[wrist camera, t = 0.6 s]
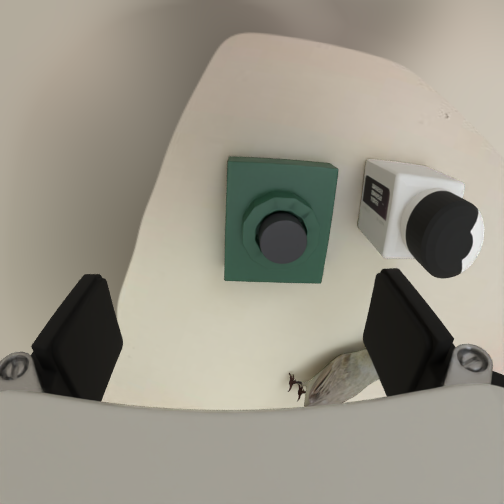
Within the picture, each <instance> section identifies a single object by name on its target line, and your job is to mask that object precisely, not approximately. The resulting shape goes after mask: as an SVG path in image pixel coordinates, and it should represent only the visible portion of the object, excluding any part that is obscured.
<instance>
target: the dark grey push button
mask: <svg viewBox="0 0 504 504" xmlns="http://www.w3.org/2000/svg"><path fill="white" fill-rule="evenodd" d="M259 242H260V248H261V251H262V253H263V255H264V256H265V257H266V258H267V259H268V260H270V261H272V262H274V263H278V264H287V263H291V262H293V261H295V260H297V259H298V258H299V257H300V256H301V255H302V254H303V253H304V251H305V249H306V246H307V236H306V233H305V231H304V229H303V227H302V225H301V223H300V221H299V220H298V219H297V218H296V217H295V216H293V215H291V214H288V213H276V214H273V215H270V216H269V217H267V218H266V219H265V220H264V221H263V222H262V224H261V226H260V229H259Z"/></svg>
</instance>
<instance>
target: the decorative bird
mask: <svg viewBox="0 0 504 504" xmlns="http://www.w3.org/2000/svg"><path fill="white" fill-rule="evenodd" d="M289 375H290V373H289ZM378 379H379V377H378V374H377V372H376V370H375V367H374V365H373V363H372V360H371V358H370V356H369V354H368V351H367V349H365V350H361V351H358V352H351V353H345V354H342V355H339V356H338V357H337V358H335V359H334V360H333V361H332V362H331V363H330V364H328V365H327V366H326V367H325V368H324V369H323V370H322V371H321V372H320V373H318V374H317V375H315V376H314V377H313V379H312V380H310V381H307V382H303V383H302V382H300V381H296V379H295V380H294V375H293V378H292V376H291V375H290V381H289V385H290V389H289V391H290V390H291V388H292V385H293V384H295V383H299V384H301V385H303V386H306V391H304V390H302V389H303V386H302V387H300V385H299V384H298V385H299V390H298V395H299V398H298V400H299V399H300V396H301V395H302V393H306V395H305V402H304V407H310V406H321V405H330V404H339V403H344V402H345V401H347V400H349V399H350V398H352V397H354V396H356V395H357V394H358V393H360V392H361V391H362V390H363V389H364V388H365V387H367V386H368V385H369V384H371V383H373V382H374V381H376V380H378ZM293 380H294V381H293ZM289 391H288V392H289ZM298 400H297V401H298Z"/></svg>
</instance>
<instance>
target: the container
mask: <svg viewBox="0 0 504 504" xmlns="http://www.w3.org/2000/svg"><path fill="white" fill-rule="evenodd" d="M464 190H465V184H464V183H463V182H462V181H459V180H457V179H455V178H453V177H451V176H448V175H446V174H444V173H442V172H439V171H437V170H435V169H432V168H430V167H428V166H424V165H417V164H410V163H403V162H395V161H387V160H379V159H367V160H366V164H365V174H364V182H363V191H362V199H361V206H360V213H359V221H358V228H359V229H360V230H361V232H362V233H363V234H364V235H365V236H366V237H367V238H368V240H369V241H370V242H371V243H372V244H373V246H374V247H375V248H376V249H377V250H378V251H379V253H380V254H381V255H382V256H383V258H386V259H416V260H417V261H418V262H419V263H420V264H421V265H422V266H423V267H424V268H425V269H426V270H427V272H429V273H430V274H431V275H432V276H434V277H437V278H450V277H454V276H456V275H459V274H460V273H462V272H464V271H465V270H466V269H467V268H468V267H469V266H470V265H471V264H472V263H473V262H474V261H475V259H476V258H477V256H478V254H479V252H480V250H481V247H482V244H483V240H484V223H483V218H482V216H481V213H480V212H479V210H478V209H477V208H476V206H474V205H473V204H472V203H470V202H468V201H466V200H464V199H463V195H464Z"/></svg>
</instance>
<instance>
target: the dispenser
mask: <svg viewBox="0 0 504 504" xmlns="http://www.w3.org/2000/svg"><path fill="white" fill-rule="evenodd" d="M337 177H338V168H336V167H335V166H333V165H332V164H330V163H323V162H312V161H300V160H287V159H273V158H256V157H233V156H230V157H229V159H228V165H227V193H226V226H225V271H224V280H225V281H246V282H278V283H321V281H322V276H323V270H324V264H325V258H326V252H327V246H328V240H329V234H330V227H331V221H332V214H333V207H334V200H335V192H336V185H337ZM276 213H288V214H291V215H293V216H295V217H296V218H297V219H298V220H299V221H300V223H301V225H302V227H303V229H304V231H305V233H306V236H307V246H306V249H305V251H304V253H303V254H302V255H301V256H300V257H299V258H298V259H297V260H295V261H293V262H291V263H287V264H278V263H274V262H272V261H270V260H268V259H267V258H266V257H265V256H264V255H263V253H262V251H261V248H260V242H259V229H260V226H261V224H262V222H263V221H264V220H265V219H266V218H267V217H269V216H270V215H273V214H276Z"/></svg>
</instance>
